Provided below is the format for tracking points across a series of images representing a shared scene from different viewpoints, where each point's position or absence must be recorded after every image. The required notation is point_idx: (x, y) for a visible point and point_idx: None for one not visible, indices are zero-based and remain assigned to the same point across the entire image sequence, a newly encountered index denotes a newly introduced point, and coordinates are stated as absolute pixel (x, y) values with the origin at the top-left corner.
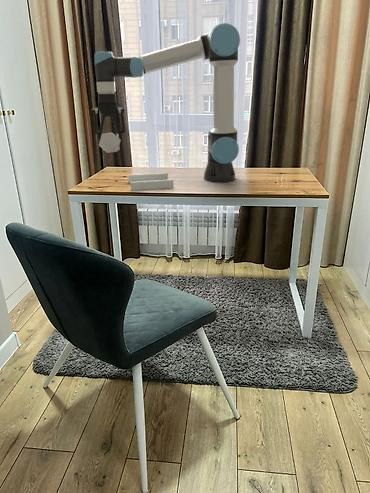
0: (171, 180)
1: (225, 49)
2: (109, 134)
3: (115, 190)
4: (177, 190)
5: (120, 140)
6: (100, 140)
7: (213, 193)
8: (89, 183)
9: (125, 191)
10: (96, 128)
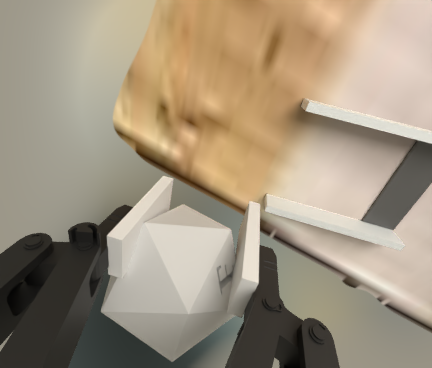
0: (393, 247)
1: None
2: (154, 346)
3: (224, 178)
4: (372, 259)
5: None
6: None
7: (424, 315)
8: (166, 39)
9: (246, 200)
10: (20, 313)
